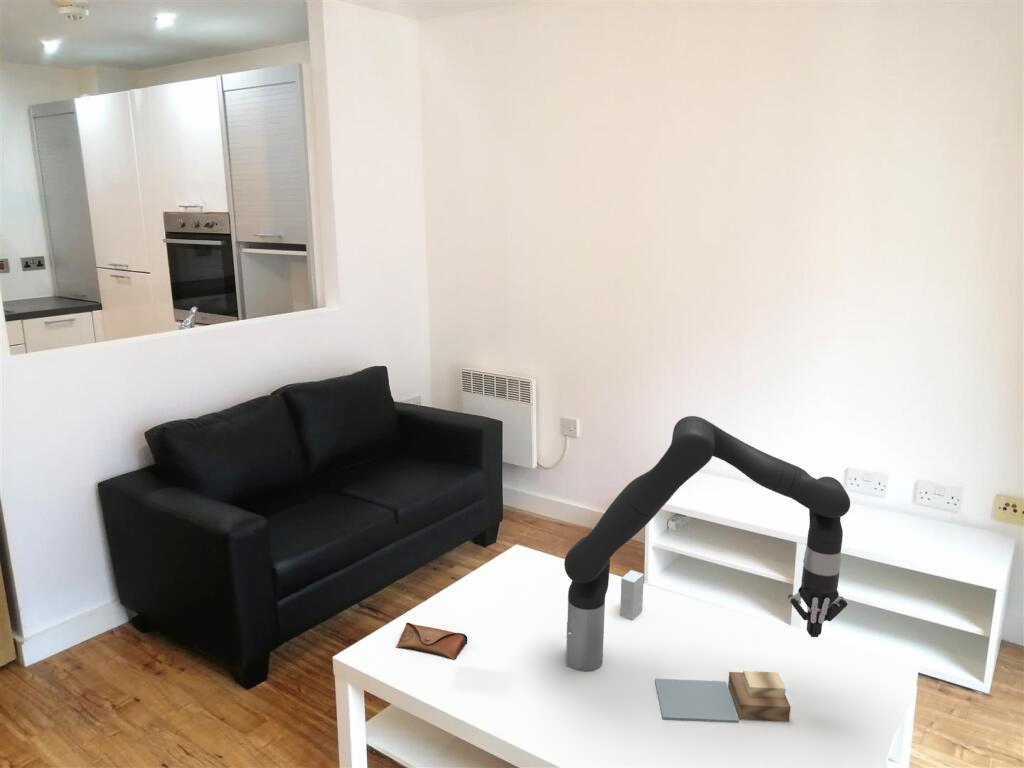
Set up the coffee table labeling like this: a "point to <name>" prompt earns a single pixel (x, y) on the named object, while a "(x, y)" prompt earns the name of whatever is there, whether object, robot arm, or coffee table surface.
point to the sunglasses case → (432, 641)
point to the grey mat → (695, 700)
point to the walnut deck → (756, 703)
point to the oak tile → (763, 684)
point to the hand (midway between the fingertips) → (813, 635)
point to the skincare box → (631, 594)
